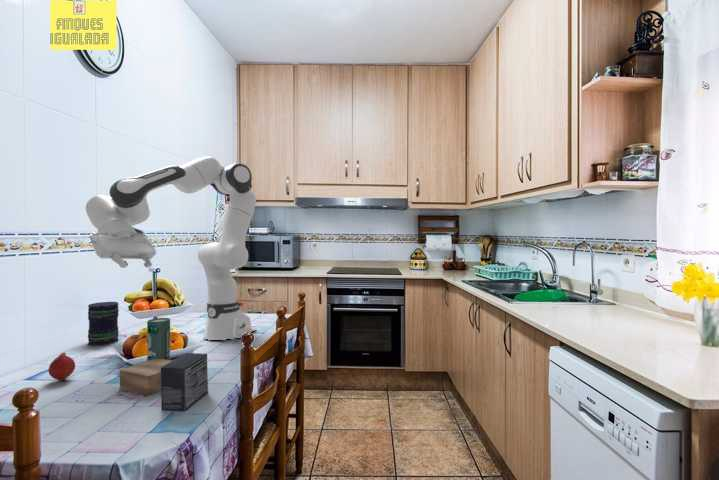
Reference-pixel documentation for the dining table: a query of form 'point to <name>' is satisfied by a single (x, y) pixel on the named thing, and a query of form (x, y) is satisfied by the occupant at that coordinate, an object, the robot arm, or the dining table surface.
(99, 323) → the storage jar
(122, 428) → the dining table surface
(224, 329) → the robot arm
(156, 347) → the can
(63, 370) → the onion
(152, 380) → the brown cardboard box
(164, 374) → the small box
